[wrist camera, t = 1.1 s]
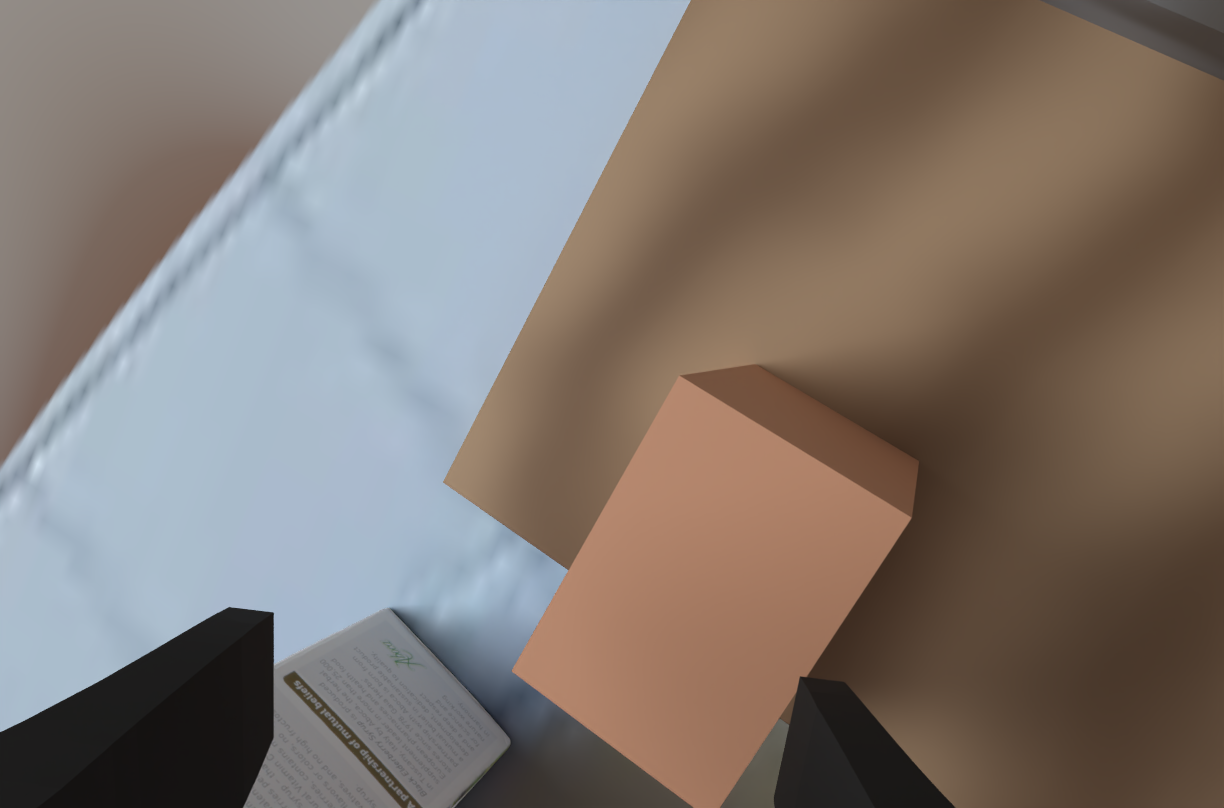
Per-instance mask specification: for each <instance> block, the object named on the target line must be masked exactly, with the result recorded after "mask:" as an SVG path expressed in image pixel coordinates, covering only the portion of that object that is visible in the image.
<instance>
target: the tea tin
mask: <svg viewBox="0 0 1224 808" xmlns="http://www.w3.org/2000/svg"><path fill="white" fill-rule="evenodd" d="M918 466H919V461H918V460H916V459H915V458H913V457H911V456H910V455H908V454H906V453H904V452H903V451H901V450H899V449H898V448H896V447H894V446H893V445H891V444H889V443H888V442H886V441H884V440H883V439H881V438H879V437H877V436H876V435H874V434H872V433H871V432H869V431H867V430H866V429H864V428H862V427H861V426H859V425H857V424H856V423H854V422H852V421H850V420H849V419H847V418H845V417H844V416H842V415H840V414H839V413H837V412H835V411H834V410H832V409H830V408H829V407H827V406H825V405H823V404H822V403H820V402H818V401H817V400H815V399H813V398H812V397H810V396H808V395H807V394H805V393H803V392H802V391H800V390H798V389H796V388H795V387H793V386H791V385H790V384H788V383H786V382H785V381H783V380H781V379H780V378H778V377H776V376H775V375H773V374H771V373H769V372H768V371H766V370H764V369H763V368H761V367H759V366H758V365H756V364H752V365H746V366H739V367H732V368H726V369H719V370H712V371H706V372H699V373H692V374H686V375H679V377H678V378H677V380H676V382H675V384H674V385H673V387H672V389H671V391H670V392H669V394H668V396H667V398H666V399H665V401H664V403H663V405H662V407H661V408H660V410H659V412H658V414H657V415H656V417H655V419H654V421H653V422H652V424H651V426H650V428H649V429H648V431H647V433H646V435H645V437H644V438H643V440H642V442H641V444H640V445H639V447H638V449H637V451H636V452H635V454H634V456H633V458H632V459H631V461H630V463H629V465H628V466H627V468H626V470H625V472H624V474H623V475H622V477H621V479H620V481H619V482H618V484H617V486H616V488H615V489H614V491H613V493H612V495H611V496H610V498H609V500H608V502H607V504H606V505H605V507H604V509H603V511H602V512H601V514H600V516H599V518H598V519H597V521H596V523H595V525H594V526H593V528H592V530H591V532H590V533H589V535H588V537H587V539H586V541H585V542H584V544H583V546H582V548H581V549H580V551H579V553H578V555H577V556H576V558H575V560H574V562H573V563H572V565H571V567H570V569H569V571H568V572H567V574H566V576H565V578H564V579H563V581H562V583H561V585H560V586H559V588H558V590H557V592H556V593H555V595H554V597H553V599H552V600H551V602H550V604H549V606H548V608H547V609H546V611H545V613H544V615H543V616H542V618H541V620H540V622H539V623H538V625H537V627H536V629H535V630H534V632H533V634H532V636H531V638H530V639H529V641H528V643H527V645H526V646H525V648H524V650H523V652H522V653H521V655H520V657H519V659H518V660H517V662H516V664H515V666H514V667H513V669H512V672H513V673H515V674H516V675H517V676H519V677H520V678H521V679H523V680H524V681H525V682H527V683H528V684H529V685H531V686H532V687H533V688H535V689H536V690H537V691H539V692H540V693H541V694H543V695H544V696H545V697H547V698H548V699H549V700H551V701H552V702H553V703H555V704H556V705H557V706H559V707H560V708H561V709H563V710H564V711H565V712H567V713H568V714H569V715H571V716H572V717H573V718H575V719H576V720H577V721H579V722H580V723H581V724H583V725H584V726H585V727H587V728H588V729H589V730H591V731H592V732H593V733H595V734H596V735H597V736H599V737H600V738H601V739H603V740H604V741H605V742H607V743H608V744H609V745H611V746H612V747H613V748H615V749H616V750H617V751H619V752H620V753H621V754H623V755H624V756H625V757H627V758H628V759H629V760H631V761H632V762H633V763H635V764H636V765H637V766H639V767H640V768H641V769H643V770H644V771H645V772H647V773H648V774H649V775H651V776H652V777H653V778H655V779H656V780H657V781H659V782H660V783H661V784H663V785H664V786H665V787H667V788H668V789H669V790H671V791H672V792H673V793H675V794H676V795H677V796H679V797H680V798H681V799H683V800H684V801H685V802H687V803H688V804H689V805H691V806H692V807H693V808H720V807H721V805H722V804H723V802H724V801H725V799H726V798H727V796H728V795H729V793H730V792H731V790H732V789H733V787H734V786H735V784H736V783H737V781H738V780H739V778H740V776H741V775H742V773H743V772H744V770H745V769H746V767H747V766H748V764H749V763H750V761H751V760H752V758H753V757H754V755H755V754H756V752H757V751H758V749H759V748H760V746H761V745H762V743H763V742H764V740H765V739H766V737H767V736H768V734H769V733H770V731H771V730H772V728H773V727H774V725H775V724H776V722H777V721H778V719H779V718H780V716H781V715H782V713H783V712H784V710H785V709H786V707H787V706H788V704H789V702H790V701H791V699H792V698H793V696H794V695H795V693H796V692H797V688H798V683H799V678H800V676H801V677H807V675H808V674H809V672H810V671H811V669H812V668H813V666H814V665H815V663H816V662H817V660H818V659H819V657H820V656H821V654H822V653H823V651H824V650H825V648H826V647H827V645H828V644H829V642H830V641H831V639H832V638H833V636H834V635H835V633H836V632H837V630H838V628H839V627H840V625H841V624H842V622H843V621H844V619H845V618H846V616H847V615H848V613H849V612H850V610H851V609H852V607H853V606H854V604H855V603H856V601H857V600H858V598H859V597H860V595H861V594H862V592H863V591H864V589H865V588H866V586H867V585H868V583H869V582H870V580H871V579H872V577H873V576H874V574H875V573H876V571H877V570H878V568H879V567H880V565H881V564H882V562H883V561H884V559H885V558H886V556H887V554H888V553H889V551H890V550H891V548H892V547H893V545H894V544H895V542H896V541H897V539H898V538H899V536H900V535H901V533H902V532H903V530H904V529H905V527H906V526H907V524H908V523H909V521H910V520H911V518H912V513H913V505H914V497H915V489H916V482H917V474H918Z"/></svg>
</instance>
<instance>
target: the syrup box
mask: <svg viewBox="0 0 1224 808" xmlns="http://www.w3.org/2000/svg"><path fill="white" fill-rule="evenodd" d="M510 744H511V742H510V739H509V737H508V736H507V735H506V733H505V732H504V731H503V730H502V729H501V727H500V726H499V725H498V724H497V723H496V722H495V721H494V720H493V718H492V717H491V716H490V715H489V714H488V713H487V711H486V710H485V709H484V708H483V707H482V706H481V705H480V703H479V702H478V701H477V700H476V699H475V698H474V697H473V696H472V695H471V693H470V692H469V691H468V690H467V689H466V688H465V687H464V686H463V685H462V684H461V683H460V682H459V681H458V680H457V679H456V678H455V676H454V675H453V674H452V673H451V672H450V671H449V670H448V669H447V668H446V667H445V666H444V665H443V664H442V663H441V662H440V661H439V659H438V658H437V657H436V656H435V655H434V654H433V653H432V652H431V651H430V650H429V649H428V648H427V647H426V646H425V645H424V644H423V643H422V642H421V641H420V640H419V638H418V637H417V636H416V635H415V634H414V633H413V632H412V631H411V630H410V629H409V628H408V627H407V626H406V625H405V624H404V623H403V622H402V621H401V620H400V619H399V618H398V617H397V616H396V615H395V614H394V612H393V611H392V610H391V609H389V608H386V609H385V608H384V609H382V610H379V611H378V612H376V613H374V614H372V615H370V616H368V617H366V618H364V619H362V620H360V621H358V622H356V623H354V624H352V625H350V626H348V627H346V628H344V629H342V630H341V631H338V632H336V633H334V634H332V635H330V636H328V637H326V638H324V639H321V640H319V641H318V642H316V643H314V644H312V645H310V646H308V647H306V648H304V649H302V650H300V651H298V652H296V653H294V654H292V655H290V656H289V657H287V658H285V659H283V660H281V661H279V662H277V663H275V664H274V738H273V741H272V743H271V746H270V748H269V750H268V753H267V755H266V757H265V760H264V762H263V765H262V767H261V769H260V772H259V774H258V776H257V779H256V781H255V783H254V785H253V787H252V790H251V792H250V794H249V796H248V798H247V801H246V803H245V805H244V807H243V808H454V807H455V806H456V805H457V804H458V803H459V802H460V801H461V800H462V799H463V797H464V796H465V795H466V794H467V793H468V792H469V791H470V790H471V789H472V788H473V787H474V785H475V784H476V783H477V782H478V781H479V780H480V779H481V778H482V777H483V776H484V775H485V773H486V772H487V771H488V770H489V769H490V768H491V767H492V766H493V765H494V764H495V763H496V761H497V760H498V759H499V758H500V757H501V756H502V755H503V754H504V753H505V752H506V751H507V750H508V748H509V747H510Z"/></svg>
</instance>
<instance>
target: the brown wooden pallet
mask: <svg viewBox="0 0 1224 808" xmlns="http://www.w3.org/2000/svg"><path fill="white" fill-rule="evenodd" d="M752 364H756V365H758V366H759V367H761V368H763V369H764V370H766V371H768V372H769V373H771V374H773V375H775V376H776V377H778V378H780V379H781V380H783V381H785V382H786V383H788V384H790V385H791V386H793V387H795V388H796V389H798V390H800V391H802V392H803V393H805V394H807V395H808V396H810V397H812V398H813V399H815V400H817V401H818V402H820V403H822V404H823V405H825V406H827V407H829V408H830V409H832V410H834V411H835V412H837V413H839V414H840V415H842V416H844V417H845V418H847V419H849V420H850V421H852V422H854V423H856V424H857V425H859V426H861V427H862V428H864V429H866V430H867V431H869V432H871V433H872V434H874V435H876V436H877V437H879V438H881V439H883V440H884V441H886V442H888V443H889V444H891V445H893V446H894V447H896V448H898V449H899V450H901V451H903V452H904V453H906V454H908V455H910V456H911V457H913V458H915V459H916V460H918V461H919V466H918V474H917V482H916V489H915V497H914V505H913V513H912V518H911V520H910V521H909V523H908V524H907V526H906V527H905V529H904V530H903V532H902V533H901V535H900V536H899V538H898V539H897V541H896V542H895V544H894V545H893V547H892V548H891V550H890V551H889V553H888V554H887V556H886V558H885V559H884V561H883V562H882V564H881V565H880V567H879V568H878V570H877V571H876V573H875V574H874V576H873V577H872V579H871V580H870V582H869V583H868V585H867V586H866V588H865V589H864V591H863V592H862V594H861V595H860V597H859V598H858V600H857V601H856V603H855V604H854V606H853V607H852V609H851V610H850V612H849V613H848V615H847V616H846V618H845V619H844V621H843V622H842V624H841V625H840V627H839V628H838V630H837V632H836V633H835V635H834V636H833V638H832V639H831V641H830V642H829V644H828V645H827V647H826V648H825V650H824V651H823V653H822V654H821V656H820V657H819V659H818V660H817V662H816V663H815V665H814V666H813V668H812V669H811V671H810V672H809V674H808V675H807V677H809V678H817V679H826V680H834V681H842V682H845V683H846V684H847V685H848V686H849V687H850V688H851V690H852V691H853V692H854V693H855V694H856V695H857V696H858V698H859V699H860V700H861V701H862V702H863V703H864V705H865V706H866V707H867V708H868V709H869V711H870V712H871V713H872V714H873V715H874V717H875V718H876V719H877V720H878V721H879V722H880V724H881V725H882V726H883V727H884V728H885V730H886V731H887V732H888V733H889V734H890V735H891V737H892V738H893V739H894V740H895V741H896V742H897V744H898V745H899V746H900V747H901V748H902V749H903V751H904V752H905V753H906V754H907V755H908V756H909V757H910V759H911V760H912V761H913V762H914V763H915V764H916V765H917V766H918V768H919V769H920V770H921V771H922V772H923V773H924V774H925V775H926V776H927V778H928V779H929V780H930V781H931V782H932V783H933V784H934V785H935V786H936V787H937V788H938V790H939V791H940V792H941V793H942V794H943V795H944V796H945V797H946V798H947V799H948V800H949V801H950V802H951V803H952V804H953V805H954V806H955V807H956V808H1224V0H691V1H690V3H689V5H688V7H687V9H686V11H685V13H684V15H683V17H682V19H681V21H680V23H679V25H678V27H677V29H676V30H675V32H674V34H673V36H672V38H671V40H670V42H669V44H668V46H667V48H666V50H665V52H664V54H663V56H662V58H661V60H660V62H659V63H658V65H657V67H656V69H655V71H654V73H653V75H652V77H651V79H650V81H649V83H648V85H647V87H646V89H645V91H644V93H643V95H642V97H641V98H640V100H639V102H638V104H637V106H636V108H635V110H634V112H633V114H632V116H631V118H630V120H629V122H628V124H627V126H626V128H625V130H624V132H623V133H622V135H621V137H620V139H619V141H618V143H617V145H616V147H615V149H614V151H613V153H612V155H611V157H610V159H609V161H608V163H607V165H606V167H605V168H604V170H603V172H602V174H601V176H600V178H599V180H598V182H597V184H596V186H595V188H594V190H593V192H592V194H591V196H590V198H589V200H588V201H587V203H586V205H585V207H584V209H583V211H582V213H581V215H580V217H579V219H578V221H577V223H576V225H575V227H574V229H573V231H572V233H571V235H570V236H569V238H568V240H567V242H566V244H565V246H564V248H563V250H562V252H561V254H560V256H559V258H558V260H557V262H556V264H555V266H554V268H553V270H552V271H551V273H550V275H549V277H548V279H547V281H546V283H545V285H544V287H543V289H542V291H541V293H540V295H539V297H538V299H537V301H536V303H535V304H534V306H533V308H532V310H531V312H530V314H529V316H528V318H527V320H526V322H525V324H524V326H523V328H522V330H521V332H520V334H519V336H518V338H517V339H516V341H515V343H514V345H513V347H512V349H511V351H510V353H509V355H508V357H507V359H506V361H505V363H504V365H503V367H502V369H501V371H500V373H499V374H498V376H497V378H496V380H495V382H494V384H493V386H492V388H491V390H490V392H489V394H488V396H487V398H486V400H485V402H484V404H483V406H482V407H481V409H480V411H479V413H478V415H477V417H476V419H475V421H474V423H473V425H472V427H471V429H470V431H469V433H468V435H467V437H466V439H465V441H464V442H463V444H462V446H461V448H460V450H459V452H458V454H457V456H456V458H455V460H454V462H453V464H452V466H451V468H450V470H449V472H448V474H447V476H446V477H445V479H444V481H443V483H445V484H446V485H448V486H449V487H450V488H452V489H453V490H455V491H456V492H458V493H459V494H460V495H462V496H463V497H465V498H466V499H468V500H469V501H470V502H472V503H473V504H475V505H476V506H478V507H479V508H480V509H482V510H483V511H485V512H486V513H487V514H489V515H490V516H492V517H493V518H495V519H496V520H497V521H499V522H500V523H502V524H503V525H505V526H506V527H507V528H509V529H510V530H512V531H513V532H515V533H516V534H517V535H519V536H520V537H522V538H523V539H525V540H526V541H527V542H529V543H530V544H532V545H533V546H535V547H536V548H537V549H539V550H540V551H542V552H543V553H545V554H546V555H547V556H549V557H550V558H552V559H553V560H555V561H556V562H557V563H559V564H560V565H562V566H563V567H565V568H566V569H567V570H569V569H570V567H571V565H572V563H573V562H574V560H575V558H576V556H577V555H578V553H579V551H580V549H581V548H582V546H583V544H584V542H585V541H586V539H587V537H588V535H589V533H590V532H591V530H592V528H593V526H594V525H595V523H596V521H597V519H598V518H599V516H600V514H601V512H602V511H603V509H604V507H605V505H606V504H607V502H608V500H609V498H610V496H611V495H612V493H613V491H614V489H615V488H616V486H617V484H618V482H619V481H620V479H621V477H622V475H623V474H624V472H625V470H626V468H627V466H628V465H629V463H630V461H631V459H632V458H633V456H634V454H635V452H636V451H637V449H638V447H639V445H640V444H641V442H642V440H643V438H644V437H645V435H646V433H647V431H648V429H649V428H650V426H651V424H652V422H653V421H654V419H655V417H656V415H657V414H658V412H659V410H660V408H661V407H662V405H663V403H664V401H665V399H666V398H667V396H668V394H669V392H670V391H671V389H672V387H673V385H674V384H675V382H676V380H677V378H678V377H679V375H686V374H692V373H699V372H706V371H712V370H719V369H726V368H732V367H739V366H746V365H752ZM795 697H796V693H795V695H794V696H793V698H792V699H791V701H790V702H789V704H788V706H787V707H786V709H785V710H784V712H783V713H782V715H781V716H780V719H782V720H783V721H784V722H786V723H787V724H789V725H790V720H791V716H792V711H793V706H794V702H795Z"/></svg>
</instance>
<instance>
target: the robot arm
mask: <svg viewBox="0 0 1224 808" xmlns="http://www.w3.org/2000/svg"><path fill="white" fill-rule="evenodd" d="M273 738H274V613H273V612H264V611H256V610H248V609H240V608H231V607H229V608H227V609H225V610H223V611H221V612H219V613H217V614H215V615H213V616H211V617H210V618H208V619H206V620H204V621H203V622H201V623H199V624H197V625H196V626H194V627H192V628H191V629H189V630H187V631H185V632H184V633H182V634H180V635H179V636H177V637H175V638H174V639H172V640H170V641H168V642H167V643H165V644H163V645H162V646H160V647H158V648H157V649H155V650H153V651H151V652H150V653H148V654H146V655H144V656H143V657H141V658H139V659H138V660H136V661H134V662H132V663H131V664H129V665H127V666H125V667H124V668H122V669H120V670H118V671H117V672H115V673H113V674H112V675H110V676H108V677H106V678H105V679H103V680H101V681H99V682H97V683H95V684H93V685H92V686H90V687H88V688H86V689H84V690H82V691H80V692H78V693H76V694H74V695H73V696H71V697H69V698H67V699H65V700H63V701H61V702H59V703H57V704H55V705H53V706H52V707H50V708H48V709H46V710H44V711H42V712H40V713H38V714H36V715H34V716H33V717H31V718H29V719H27V720H25V721H23V722H21V723H19V724H17V725H14V726H12V727H10V728H8V729H6V730H4V731H2V732H0V808H243V807H244V805H245V803H246V801H247V798H248V796H249V794H250V792H251V790H252V787H253V785H254V783H255V781H256V779H257V776H258V774H259V772H260V769H261V767H262V765H263V762H264V760H265V757H266V755H267V753H268V750H269V748H270V746H271V743H272V741H273ZM774 806H775V808H956V807H955V806H954V805H953V804H952V803H951V802H950V801H949V800H948V799H947V798H946V797H945V796H944V795H943V794H942V793H941V792H940V791H939V790H938V788H937V787H936V786H935V785H934V784H933V783H932V782H931V781H930V780H929V779H928V778H927V776H926V775H925V774H924V773H923V772H922V771H921V770H920V769H919V768H918V766H917V765H916V764H915V763H914V762H913V761H912V760H911V759H910V757H909V756H908V755H907V754H906V753H905V752H904V751H903V749H902V748H901V747H900V746H899V745H898V744H897V742H896V741H895V740H894V739H893V738H892V737H891V735H890V734H889V733H888V732H887V731H886V730H885V728H884V727H883V726H882V725H881V724H880V722H879V721H878V720H877V719H876V718H875V717H874V715H873V714H872V713H871V712H870V711H869V709H868V708H867V707H866V706H865V705H864V703H863V702H862V701H861V700H860V699H859V698H858V696H857V695H856V694H855V693H854V692H853V691H852V690H851V688H850V687H849V686H848V685H847V684H846V683H845V682H842V681H834V680H826V679H817V678H809V677H801V676H800V678H799V683H798V688H797V692H796V697H795V702H794V706H793V711H792V716H791V720H790V725H789V730H788V734H787V739H786V744H785V748H784V753H783V758H782V762H781V767H780V772H779V776H778V781H777V786H776V790H775V795H774Z"/></svg>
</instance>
